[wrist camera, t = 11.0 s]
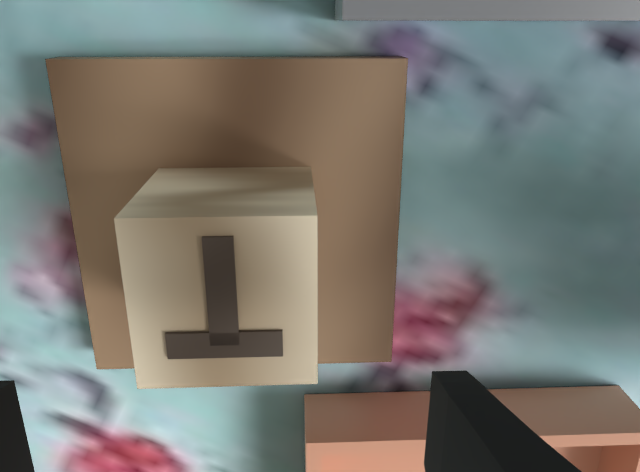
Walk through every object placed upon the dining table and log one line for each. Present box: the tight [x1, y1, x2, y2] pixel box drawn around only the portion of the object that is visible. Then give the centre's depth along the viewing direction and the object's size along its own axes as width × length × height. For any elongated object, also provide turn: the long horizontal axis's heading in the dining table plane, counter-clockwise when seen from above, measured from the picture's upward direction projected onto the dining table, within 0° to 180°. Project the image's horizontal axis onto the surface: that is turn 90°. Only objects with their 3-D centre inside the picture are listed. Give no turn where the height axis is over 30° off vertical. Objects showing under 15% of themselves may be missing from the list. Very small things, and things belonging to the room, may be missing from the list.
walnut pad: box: [45, 56, 408, 369], centre depth 18 cm, size 10×10×1 cm
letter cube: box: [114, 167, 318, 389], centre depth 15 cm, size 4×4×5 cm
